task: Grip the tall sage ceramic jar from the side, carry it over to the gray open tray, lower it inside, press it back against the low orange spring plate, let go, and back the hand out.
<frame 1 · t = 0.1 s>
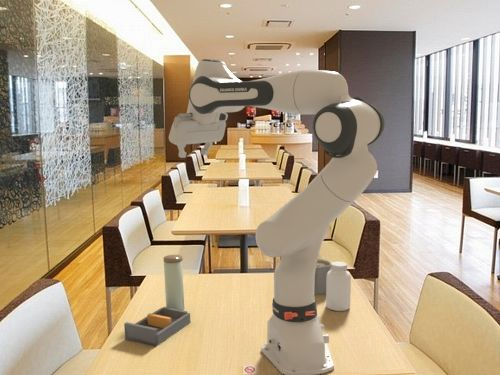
hand: (193, 155, 159), 52 cm above the table, tool tilted 20°, fingers open, 8 cm apart
jar: (175, 309, 173), on the table
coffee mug: (321, 290, 189), on the table
gray open tray: (159, 330, 157), on the table
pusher: (159, 321, 157), point 3 cm above the table, slide at 0.0 cm
pill bottle: (338, 307, 172), on the table
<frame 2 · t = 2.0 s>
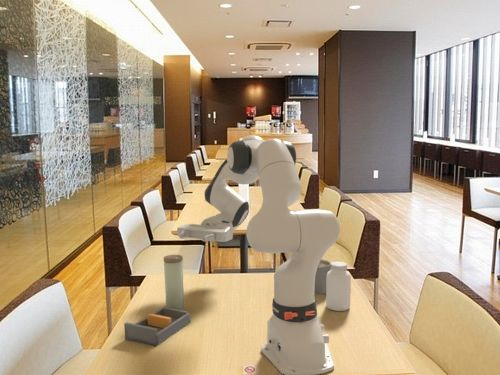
hand: (192, 237, 180), 22 cm above the table, tool horizontal, fingers open, 8 cm apart
nothing on the table moved.
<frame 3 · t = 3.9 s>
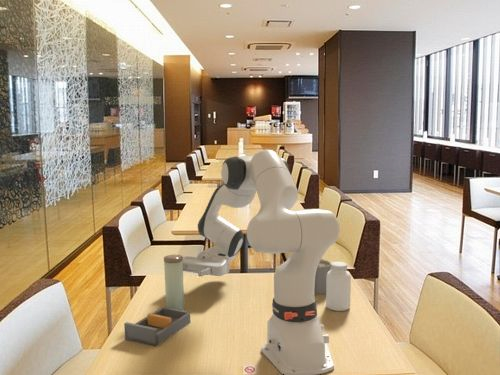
hand: (188, 272, 179), 10 cm above the table, tool horizontal, fingers open, 8 cm apart
nothing on the table moved.
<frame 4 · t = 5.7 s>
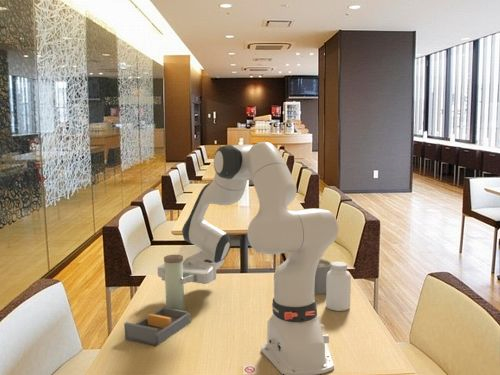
hand: (172, 279, 171), 10 cm above the table, tool horizontal, fingers closed on jar, 6 cm apart
jar: (175, 309, 173), on the table, touching gripper
everything else where it was.
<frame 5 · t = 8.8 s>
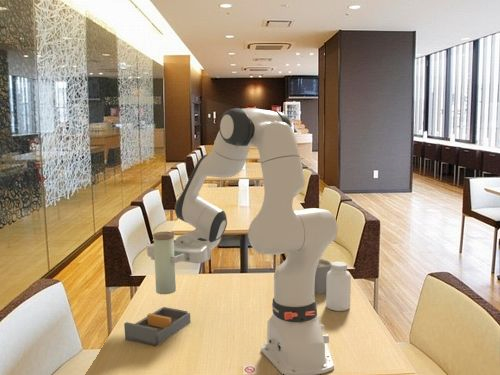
hand: (162, 258, 157), 22 cm above the table, tool horizontal, fingers closed on jar, 6 cm apart
jar: (165, 290, 159), point 11 cm above the table, touching gripper
everything else where it was.
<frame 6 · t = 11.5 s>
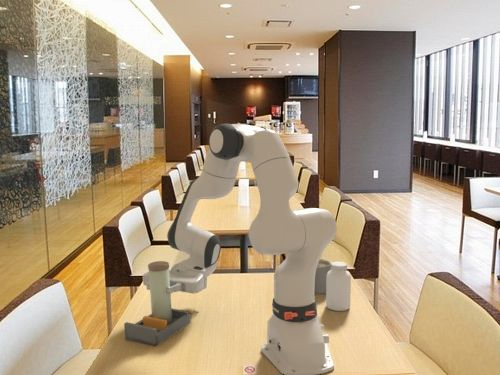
hand: (158, 289, 155), 13 cm above the table, tool horizontal, fingers closed on jar, 6 cm apart
jar: (162, 320, 158), point 2 cm above the table, touching gripper, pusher
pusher: (155, 323, 155), point 3 cm above the table, slide at 2.1 cm, touching jar
everything else where it was.
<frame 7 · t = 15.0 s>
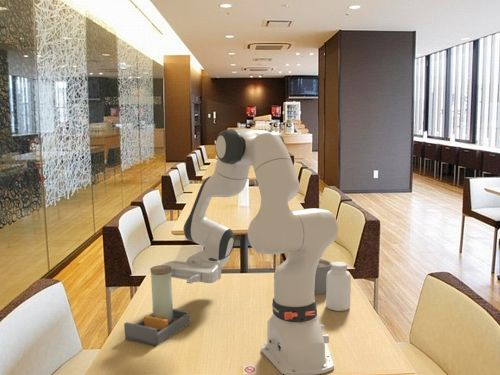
hand: (175, 279, 164), 13 cm above the table, tool horizontal, fingers open, 8 cm apart
jar: (163, 324, 159), point 1 cm above the table, touching gray open tray, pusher
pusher: (156, 323, 155), point 3 cm above the table, slide at 1.6 cm, touching jar
everything else where it was.
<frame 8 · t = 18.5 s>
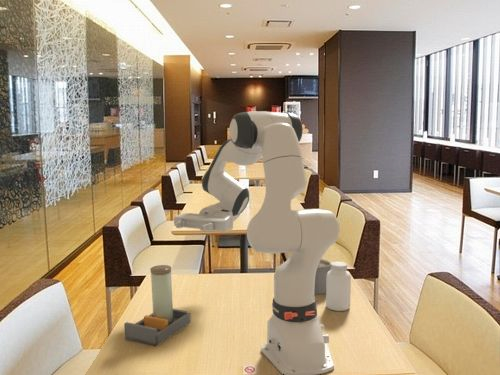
hand: (189, 227, 169), 28 cm above the table, tool horizontal, fingers open, 8 cm apart
nothing on the table moved.
at the end: jar 0.7 cm from the target spot on the gray open tray, point 1.0 cm above the gray open tray's base; jar tilted 0°; the gripper is holding nothing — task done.
